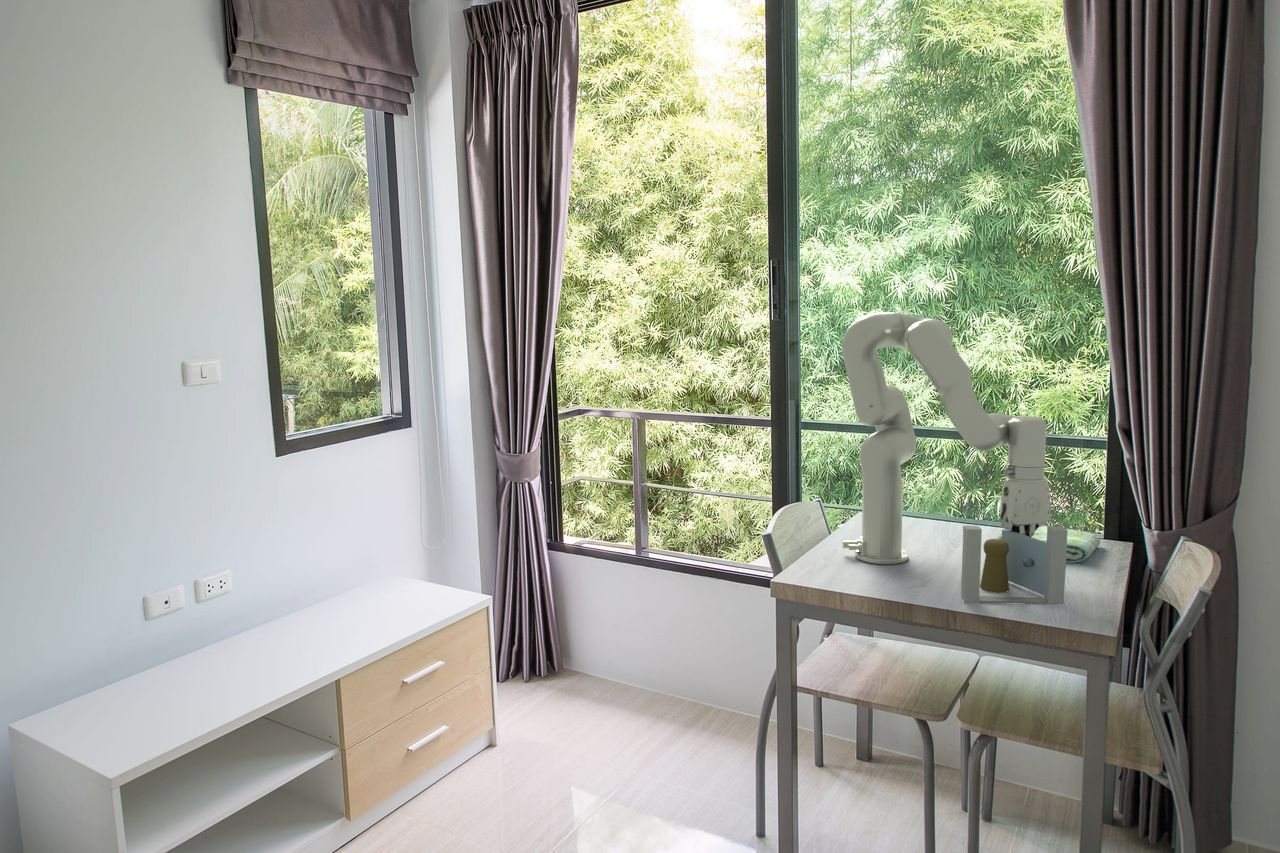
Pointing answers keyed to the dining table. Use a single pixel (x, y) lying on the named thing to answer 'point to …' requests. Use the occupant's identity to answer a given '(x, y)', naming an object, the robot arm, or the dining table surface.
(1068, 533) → the towel
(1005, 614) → the dining table surface
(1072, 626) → the dining table surface
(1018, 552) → the door
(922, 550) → the dining table surface
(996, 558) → the cork
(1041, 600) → the door frame
